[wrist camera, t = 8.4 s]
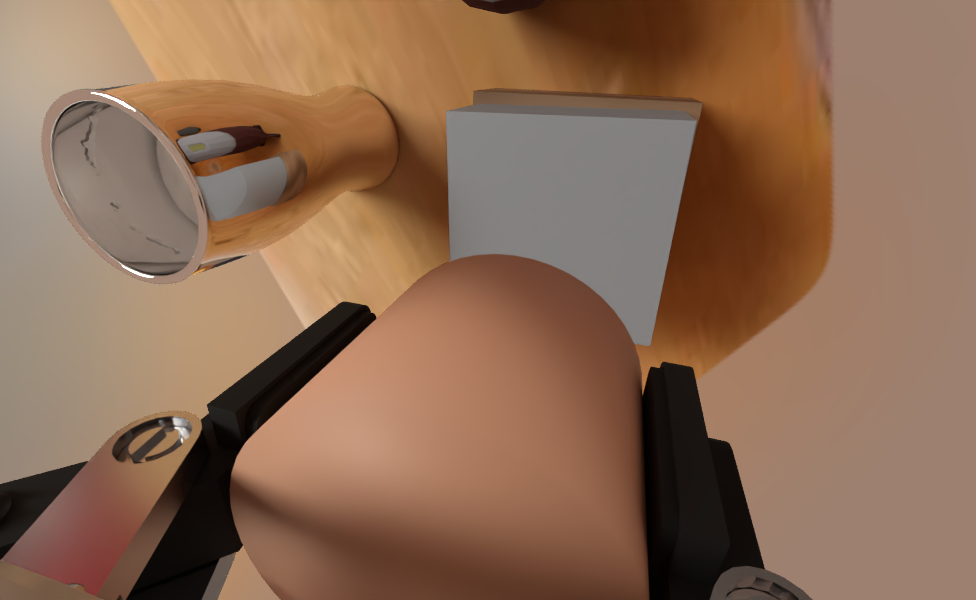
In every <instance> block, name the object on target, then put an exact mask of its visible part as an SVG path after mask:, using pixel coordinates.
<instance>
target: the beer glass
mask: <svg viewBox="0 0 976 600" xmlns="http://www.w3.org/2000/svg"><path fill="white" fill-rule="evenodd" d="M41 149H42V157H43V163H44V167H45V171H46V174H47V177H48V180H49V183H50V186H51V188H52V191H53V193H54V195H55V197H56V199H57V201H58V203H59V205H60V207H61V209H62V210H63V212H64V214H65V215H66V217H67V218H68V220H69V221H70V223H71V224H72V226H73V227H74V228H75V229H76V231H77V232H78V233H79V235H80V236H81V237H82V238H83V239H84V240H85V241H86V243H87V244H88V245H89V246H90V247H91V248H92V249H93V250H94V251H95V252H96V253H97V254H99V255H100V256H101V257H102V258H103V259H104V260H106V261H107V262H108V263H110V264H111V265H112V266H114V267H115V268H117V269H118V270H120V271H122V272H123V273H125V274H127V275H129V276H132V277H134V278H136V279H139V280H141V281H145V282H149V283H154V284H172V283H177V282H180V281H182V280H184V279H186V278H188V277H190V276H193V275H195V274H198V273H201V272H204V271H207V270H209V269H213V268H215V267H218V266H221V265H224V264H226V263H229V262H232V261H234V260H237V259H240V258H242V257H245V256H247V255H250V254H252V253H254V252H257V251H259V250H261V249H263V248H266V247H267V246H269V245H271V244H273V243H275V242H277V241H279V240H281V239H282V238H284V237H286V236H288V235H289V234H291V233H292V232H294V231H295V230H296V229H298V228H299V227H301V226H302V225H303V224H305V223H306V222H308V221H309V220H310V219H311V218H312V217H314V216H315V215H316V214H317V213H318V212H320V211H321V210H322V209H323V208H324V207H325V206H327V205H328V204H329V203H330V202H331V201H332V200H334V199H335V198H336V197H337V196H339V195H340V194H342V193H344V192H346V191H357V190H366V189H370V188H373V187H376V186H378V185H379V184H381V183H382V182H384V181H385V180H386V179H387V178H388V177H389V175H390V174H391V172H392V171H393V169H394V167H395V164H396V161H397V157H398V136H397V131H396V128H395V125H394V122H393V120H392V118H391V116H390V114H389V112H388V111H387V109H386V108H385V107H384V105H383V104H382V103H381V102H380V101H379V100H378V99H377V98H376V97H374V96H373V95H372V94H370V93H369V92H367V91H365V90H363V89H360V88H358V87H354V86H337V87H333V88H330V89H328V90H326V91H324V92H321V93H319V94H317V95H312V96H305V95H299V94H294V93H290V92H286V91H281V90H277V89H272V88H268V87H263V86H259V85H254V84H247V83H240V82H233V81H226V80H194V79H193V80H173V81H158V82H149V83H140V84H132V85H124V86H117V87H110V88H101V89H79V90H74V91H70V92H68V93H66V94H64V95H62V96H60V97H59V98H58V99H57V100H56V101H55V102H54V103H53V104H52V105H51V107H50V108H49V110H48V111H47V114H46V116H45V119H44V122H43V126H42V134H41Z"/></svg>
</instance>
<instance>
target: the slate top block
mask: <svg viewBox="0 0 976 600" xmlns="http://www.w3.org/2000/svg"><path fill="white" fill-rule="evenodd" d="M696 122H697V121H696V120H695V119H694V118H693V117H691V116H690V115H689V114H687V113H686V112H685V111H677V110H648V109H618V108H589V107H560V106H531V105H501V104H476V105H472V106H467V107H463V108H458V109H453V110H449V111H446V124H447V163H448V201H449V240H450V261H453V260H456V259H459V258H463V257H469V256H474V255H484V254H504V255H515V256H520V257H525V258H530V259H534V260H537V261H540V262H543V263H546V264H549V265H552V266H554V267H556V268H558V269H560V270H563V271H565V272H567V273H569V274H571V275H572V276H574V277H575V278H577V279H578V280H580V281H582V282H583V283H585V284H586V285H588V286H589V287H590V288H591V289H592V290H594V291H595V292H596V293H597V294H598V295H600V296H601V297H602V298H603V299H604V300H605V301H606V302H607V303H608V305H609V306H610V307H611V308H612V309H613V310H614V311H615V312H616V314H617V315H618V317H619V318H620V319H621V321H622V322H623V324H624V325H625V327H626V329H627V331H628V332H629V334H630V336H631V338H632V340H633V342H634V344H639V345H646V346H650V345H651V340H652V336H653V331H654V326H655V321H656V316H657V311H658V306H659V302H660V297H661V292H662V287H663V282H664V277H665V272H666V268H667V263H668V258H669V253H670V248H671V243H672V238H673V234H674V229H675V224H676V219H677V214H678V209H679V204H680V200H681V195H682V190H683V185H684V180H685V175H686V170H687V166H688V161H689V156H690V151H691V146H692V141H693V137H694V132H695V127H696Z"/></svg>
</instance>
